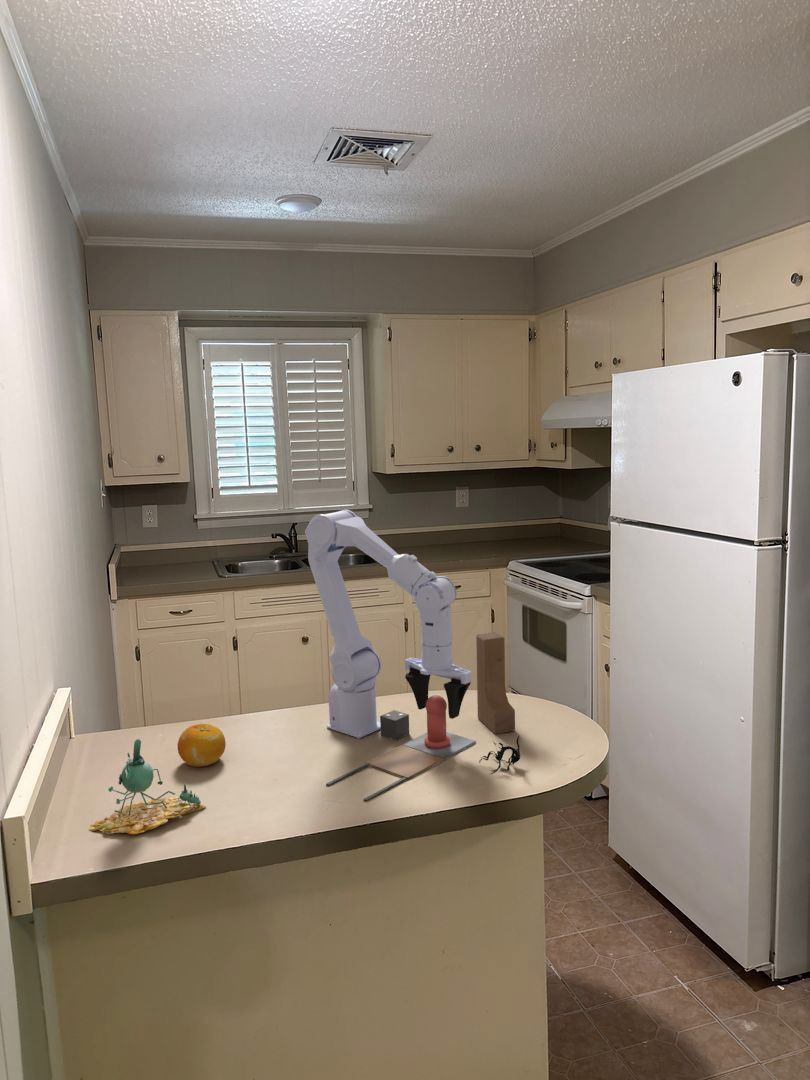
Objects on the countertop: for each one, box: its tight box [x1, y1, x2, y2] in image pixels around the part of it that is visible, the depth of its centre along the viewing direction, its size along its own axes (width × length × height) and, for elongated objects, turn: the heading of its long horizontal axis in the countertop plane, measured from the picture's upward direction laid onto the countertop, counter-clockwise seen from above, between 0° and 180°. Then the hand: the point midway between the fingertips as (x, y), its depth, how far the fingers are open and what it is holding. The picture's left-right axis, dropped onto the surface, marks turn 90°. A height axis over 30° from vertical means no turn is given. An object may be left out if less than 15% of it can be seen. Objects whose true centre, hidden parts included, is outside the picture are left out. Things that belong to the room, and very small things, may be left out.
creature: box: [478, 735, 521, 775], centre depth 141 cm, size 8×5×8 cm
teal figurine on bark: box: [88, 738, 207, 835], centre depth 124 cm, size 10×18×15 cm, turn 101°
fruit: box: [177, 723, 227, 768], centre depth 146 cm, size 8×8×8 cm
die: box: [379, 709, 410, 741], centre depth 156 cm, size 4×4×4 cm
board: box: [325, 731, 477, 803], centre depth 144 cm, size 10×30×1 cm, turn 139°
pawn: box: [424, 694, 450, 749], centre depth 150 cm, size 5×5×10 cm
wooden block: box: [475, 632, 516, 735], centre depth 158 cm, size 9×4×18 cm, turn 17°
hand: (438, 712), depth 150 cm, fingers open, 7 cm apart
